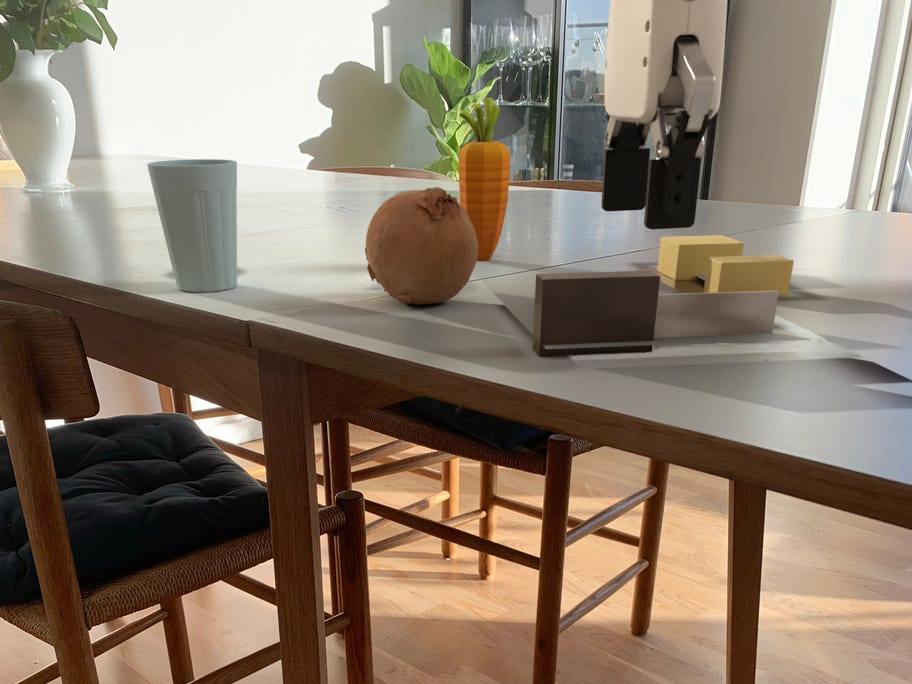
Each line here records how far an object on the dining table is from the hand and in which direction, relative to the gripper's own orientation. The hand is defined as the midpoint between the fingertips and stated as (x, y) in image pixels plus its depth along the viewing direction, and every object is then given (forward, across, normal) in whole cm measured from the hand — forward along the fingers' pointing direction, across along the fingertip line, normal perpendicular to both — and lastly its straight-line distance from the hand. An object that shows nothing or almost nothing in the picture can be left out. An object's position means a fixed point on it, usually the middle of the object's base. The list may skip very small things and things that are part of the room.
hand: (644, 218), depth 65 cm
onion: (+8, +16, +14) cm, 23 cm away
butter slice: (+7, +9, -12) cm, 17 cm away
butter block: (+8, +20, -12) cm, 24 cm away
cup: (+7, +26, +33) cm, 42 cm away
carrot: (+8, +32, +6) cm, 33 cm away
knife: (+8, -3, 0) cm, 9 cm away
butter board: (+8, +15, -12) cm, 21 cm away
